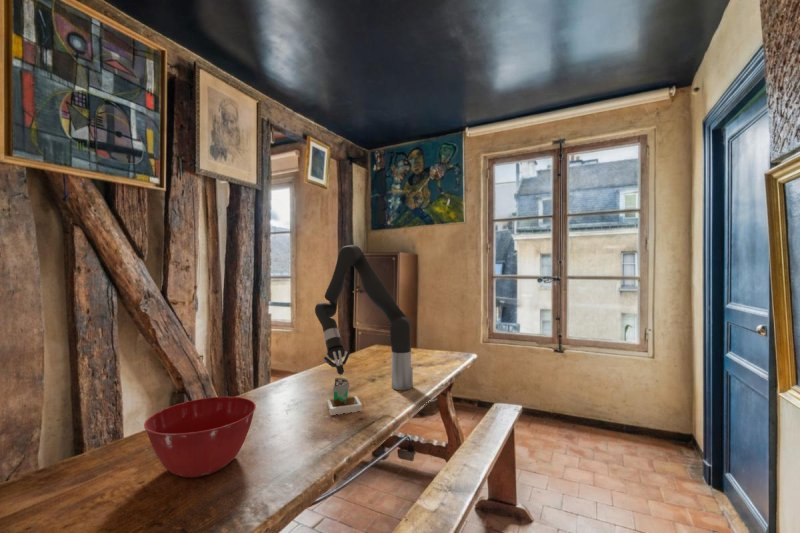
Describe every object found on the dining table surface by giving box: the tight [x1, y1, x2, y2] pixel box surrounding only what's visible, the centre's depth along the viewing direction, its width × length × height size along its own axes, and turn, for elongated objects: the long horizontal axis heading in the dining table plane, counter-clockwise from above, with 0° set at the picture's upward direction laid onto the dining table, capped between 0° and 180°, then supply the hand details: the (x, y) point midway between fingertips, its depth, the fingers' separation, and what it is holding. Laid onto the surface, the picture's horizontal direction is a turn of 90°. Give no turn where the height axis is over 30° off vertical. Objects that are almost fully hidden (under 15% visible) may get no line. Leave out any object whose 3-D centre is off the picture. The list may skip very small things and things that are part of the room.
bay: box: [326, 395, 363, 416], centre depth 150 cm, size 12×10×2 cm
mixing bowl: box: [143, 396, 257, 479], centre depth 108 cm, size 28×28×16 cm
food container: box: [333, 377, 350, 407], centre depth 152 cm, size 12×6×10 cm, turn 7°
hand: (341, 374), depth 169 cm, fingers closed
